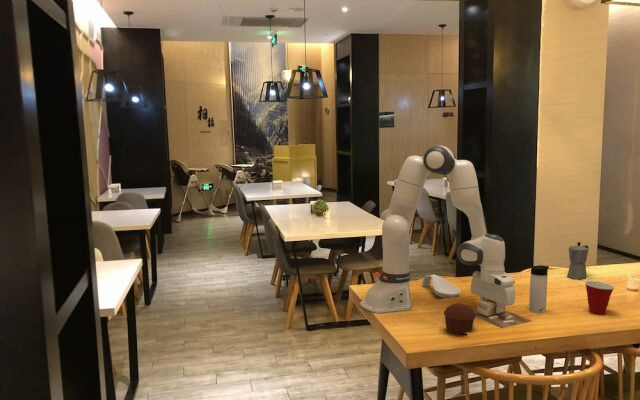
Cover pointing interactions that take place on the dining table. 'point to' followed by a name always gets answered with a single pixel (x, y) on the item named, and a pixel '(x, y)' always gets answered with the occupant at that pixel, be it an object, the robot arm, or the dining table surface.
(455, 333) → the muffin
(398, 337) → the dining table surface
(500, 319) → the walnut board
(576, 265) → the coffeepot
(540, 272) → the travel mug
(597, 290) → the plastic cup
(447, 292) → the spoon rest
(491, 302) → the sanding block
